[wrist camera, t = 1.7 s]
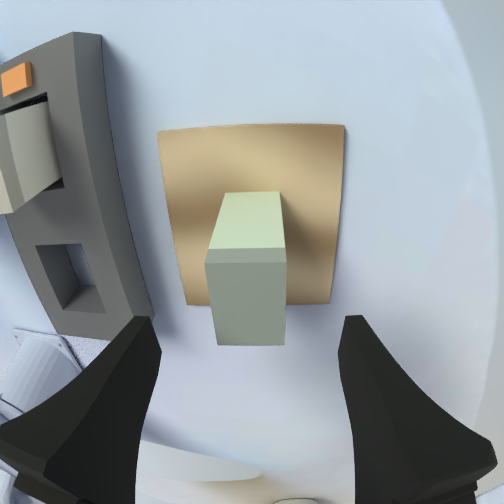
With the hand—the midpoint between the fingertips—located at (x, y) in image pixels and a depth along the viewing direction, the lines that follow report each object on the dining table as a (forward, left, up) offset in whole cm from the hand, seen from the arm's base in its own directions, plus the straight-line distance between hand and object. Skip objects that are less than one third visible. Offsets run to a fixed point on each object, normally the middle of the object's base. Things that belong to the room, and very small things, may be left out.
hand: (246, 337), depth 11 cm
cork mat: (0, 0, -9) cm, 9 cm away
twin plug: (+7, +12, -9) cm, 17 cm away
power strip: (+2, +12, -9) cm, 15 cm away
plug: (0, 0, -9) cm, 9 cm away
